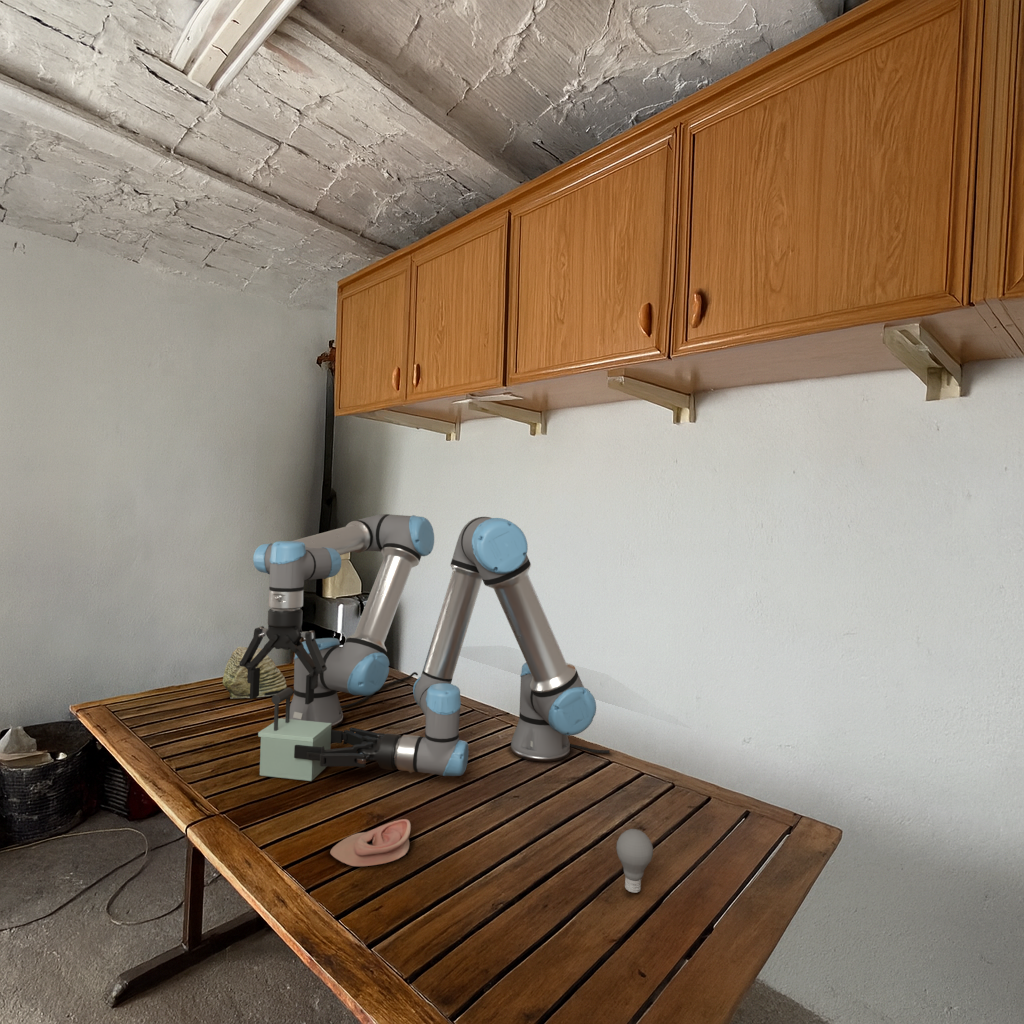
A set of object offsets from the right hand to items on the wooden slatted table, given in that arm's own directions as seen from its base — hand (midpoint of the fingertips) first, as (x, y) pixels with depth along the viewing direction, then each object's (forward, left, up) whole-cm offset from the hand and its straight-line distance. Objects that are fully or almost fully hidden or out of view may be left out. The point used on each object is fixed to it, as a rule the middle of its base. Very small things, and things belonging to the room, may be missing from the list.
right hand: (305, 742), depth 146 cm
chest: (+2, -1, -6) cm, 7 cm away
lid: (+2, -1, +2) cm, 3 cm away
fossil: (+17, -59, -6) cm, 62 cm away
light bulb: (-53, +58, -6) cm, 79 cm away
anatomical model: (-12, +37, -6) cm, 39 cm away
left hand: (+6, -2, +9) cm, 11 cm away
